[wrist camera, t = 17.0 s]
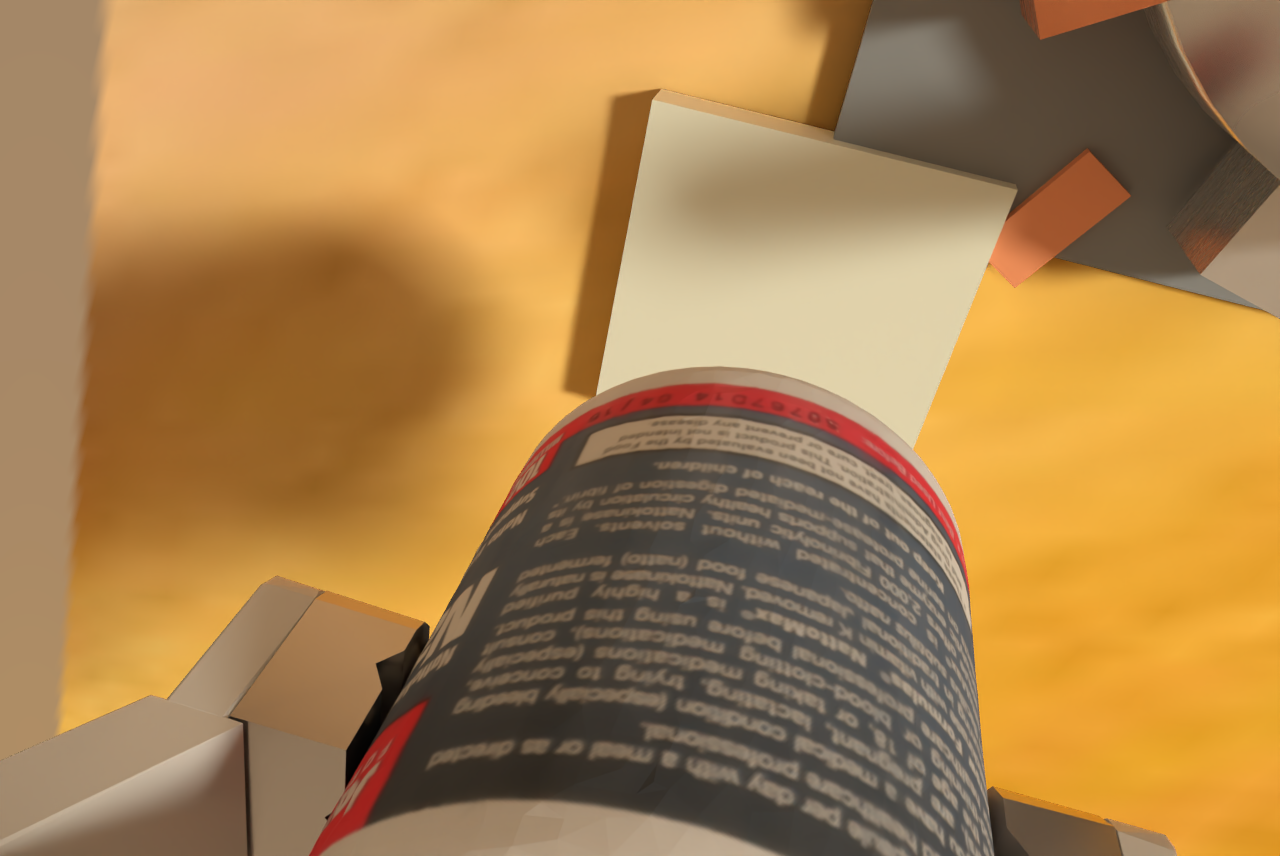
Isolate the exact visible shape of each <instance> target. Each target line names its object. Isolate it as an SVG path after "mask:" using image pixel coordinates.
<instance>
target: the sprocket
mask: <svg viewBox="0 0 1280 856" xmlns="http://www.w3.org/2000/svg"><path fill="white" fill-rule="evenodd" d="M1019 1H1020V7H1021V13H1022V16H1023V17H1024V19H1025V20H1026V21H1027V23H1028V24H1029V26H1030V27H1031V28H1032V30H1033V31H1034V32H1035V34H1036V35H1037V36H1038V38H1039V39H1040V40H1041V39H1045V38H1048V37H1051V36H1055V35H1058V34H1061V33H1064V32H1068V31H1071V30H1074V29H1078V28H1081V27H1084V26H1088V25H1091V24H1094V23H1097V22H1101V21H1104V20H1107V19H1111V18H1114V17H1117V16H1121V15H1124V14H1127V13H1130V12H1134V11H1137V10H1140V9H1143V10H1144V13H1145V16H1146V19H1147V21H1148V24H1149V26H1150V28H1151V30H1152V32H1153V34H1154V36H1155V37H1156V39H1157V41H1158V43H1159V45H1160V47H1161V49H1162V51H1163V52H1164V54H1165V56H1166V58H1167V60H1168V62H1169V64H1170V65H1171V67H1172V69H1173V71H1174V72H1175V74H1176V75H1177V76H1178V78H1179V79H1180V80H1181V82H1182V83H1183V84H1184V85H1185V87H1186V88H1187V89H1188V91H1189V92H1190V93H1191V95H1192V96H1193V97H1194V98H1195V100H1196V101H1197V102H1198V104H1199V105H1200V106H1201V108H1202V109H1203V110H1204V111H1205V113H1206V114H1208V115H1209V116H1210V117H1211V118H1212V119H1213V120H1214V121H1215V122H1216V123H1217V124H1218V125H1219V126H1220V127H1221V128H1223V129H1224V130H1225V131H1226V132H1227V133H1228V134H1229V135H1230V136H1231V137H1232V138H1233V139H1234V140H1235V141H1236V143H1235V144H1234V145H1233V146H1232V148H1231V149H1230V150H1229V151H1228V152H1227V154H1226V155H1225V156H1224V157H1223V158H1222V160H1221V161H1220V162H1219V163H1218V164H1217V166H1216V167H1215V168H1214V169H1213V170H1212V172H1211V173H1210V174H1209V175H1208V176H1207V178H1206V179H1205V180H1204V181H1203V182H1202V184H1201V185H1200V186H1199V187H1198V188H1197V190H1196V191H1195V192H1194V193H1193V194H1192V196H1191V197H1190V198H1189V199H1188V200H1187V202H1186V203H1185V204H1184V205H1183V206H1182V208H1181V209H1180V210H1179V211H1178V212H1177V214H1176V215H1175V216H1174V217H1173V218H1172V220H1171V221H1170V222H1169V223H1168V224H1167V226H1166V227H1167V228H1168V230H1169V231H1170V233H1171V234H1172V235H1173V237H1174V238H1175V240H1176V241H1177V243H1178V244H1179V245H1180V247H1181V248H1182V250H1183V251H1184V252H1185V254H1186V255H1187V257H1188V258H1189V260H1190V261H1191V262H1192V264H1193V265H1194V267H1195V268H1196V269H1197V271H1198V272H1199V274H1200V275H1202V276H1204V277H1205V278H1207V279H1209V280H1211V281H1213V282H1214V283H1216V284H1218V285H1220V286H1222V287H1223V288H1225V289H1227V290H1229V291H1231V292H1232V293H1234V294H1236V295H1238V296H1240V297H1241V298H1243V299H1245V300H1247V301H1249V302H1250V303H1252V304H1254V305H1256V306H1258V307H1259V308H1261V309H1263V310H1265V311H1267V312H1268V313H1270V314H1272V315H1274V316H1276V317H1277V318H1279V319H1280V0H1019Z"/></svg>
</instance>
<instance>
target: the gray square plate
mask: <svg viewBox="0 0 1280 856" xmlns="http://www.w3.org/2000/svg"><path fill="white" fill-rule="evenodd" d="M833 139H834V140H838V141H842V142H846V143H850V144H854V145H859V146H863V147H867V148H871V149H875V150H879V151H883V152H887V153H891V154H895V155H899V156H903V157H907V158H911V159H915V160H919V161H923V162H927V163H931V164H935V165H939V166H943V167H947V168H952V169H956V170H960V171H964V172H968V173H972V174H976V175H980V176H984V177H988V178H992V179H996V180H1000V181H1004V182H1008V183H1012V184H1016V187H1017V189H1018V191H1017V193H1016V196H1015V198H1014V201H1013V203H1012V205H1011V208H1010V210H1009V213H1008V215H1007V218H1006V220H1005V223H1004V225H1003V228H1002V230H1001V233H1000V235H999V238H998V240H997V243H996V245H995V248H994V250H993V252H992V255H991V257H990V260H989V263H990V264H991V265H992V266H993V267H994V268H995V269H996V270H997V271H998V272H999V273H1000V274H1001V275H1002V276H1003V277H1004V278H1005V279H1006V280H1007V281H1008V282H1009V283H1010V284H1011V285H1012V286H1013V287H1014V288H1015V287H1017V286H1018V285H1019V284H1020V283H1022V282H1023V281H1024V280H1025V279H1027V278H1028V277H1029V276H1031V275H1032V274H1033V273H1034V272H1036V271H1037V270H1038V269H1039V268H1041V267H1042V266H1043V265H1044V264H1046V263H1047V262H1048V261H1050V260H1051V259H1052V258H1053V257H1055V258H1059V259H1063V260H1067V261H1071V262H1075V263H1079V264H1083V265H1087V266H1091V267H1095V268H1098V269H1102V270H1106V271H1110V272H1114V273H1118V274H1122V275H1126V276H1130V277H1134V278H1138V279H1142V280H1146V281H1150V282H1154V283H1158V284H1162V285H1166V286H1170V287H1174V288H1178V289H1182V290H1186V291H1190V292H1194V293H1198V294H1202V295H1206V296H1210V297H1214V298H1218V299H1222V300H1226V301H1229V302H1233V303H1237V304H1241V305H1245V306H1249V307H1253V308H1257V309H1261V308H1259V307H1258V306H1256V305H1254V304H1252V303H1250V302H1249V301H1247V300H1245V299H1243V298H1241V297H1240V296H1238V295H1236V294H1234V293H1232V292H1231V291H1229V290H1227V289H1225V288H1223V287H1222V286H1220V285H1218V284H1216V283H1214V282H1213V281H1211V280H1209V279H1207V278H1205V277H1204V276H1202V275H1200V274H1199V272H1198V271H1197V269H1196V268H1195V267H1194V265H1193V264H1192V262H1191V261H1190V260H1189V258H1188V257H1187V255H1186V254H1185V252H1184V251H1183V250H1182V248H1181V247H1180V245H1179V244H1178V243H1177V241H1176V240H1175V238H1174V237H1173V235H1172V234H1171V233H1170V231H1169V230H1168V228H1167V227H1166V226H1167V224H1168V223H1169V222H1170V221H1171V220H1172V218H1173V217H1174V216H1175V215H1176V214H1177V212H1178V211H1179V210H1180V209H1181V208H1182V206H1183V205H1184V204H1185V203H1186V202H1187V200H1188V199H1189V198H1190V197H1191V196H1192V194H1193V193H1194V192H1195V191H1196V190H1197V188H1198V187H1199V186H1200V185H1201V184H1202V182H1203V181H1204V180H1205V179H1206V178H1207V176H1208V175H1209V174H1210V173H1211V172H1212V170H1213V169H1214V168H1215V167H1216V166H1217V164H1218V163H1219V162H1220V161H1221V160H1222V158H1223V157H1224V156H1225V155H1226V154H1227V152H1228V151H1229V150H1230V149H1231V148H1232V146H1233V145H1234V144H1235V143H1236V141H1235V140H1234V139H1233V138H1232V137H1231V136H1230V135H1229V134H1228V133H1227V132H1226V131H1225V130H1224V129H1223V128H1221V127H1220V126H1219V125H1218V124H1217V123H1216V122H1215V121H1214V120H1213V119H1212V118H1211V117H1210V116H1209V115H1208V114H1206V113H1205V111H1204V110H1203V109H1202V108H1201V106H1200V105H1199V104H1198V102H1197V101H1196V100H1195V98H1194V97H1193V96H1192V95H1191V93H1190V92H1189V91H1188V89H1187V88H1186V87H1185V85H1184V84H1183V83H1182V82H1181V80H1180V79H1179V78H1178V76H1177V75H1176V74H1175V72H1174V71H1173V69H1172V67H1171V65H1170V64H1169V62H1168V60H1167V58H1166V56H1165V54H1164V52H1163V51H1162V49H1161V47H1160V45H1159V43H1158V41H1157V39H1156V37H1155V36H1154V34H1153V32H1152V30H1151V28H1150V26H1149V24H1148V21H1147V19H1146V16H1145V13H1144V10H1143V9H1140V10H1137V11H1134V12H1130V13H1127V14H1124V15H1121V16H1117V17H1114V18H1111V19H1107V20H1104V21H1101V22H1097V23H1094V24H1091V25H1088V26H1084V27H1081V28H1078V29H1074V30H1071V31H1068V32H1064V33H1061V34H1058V35H1055V36H1051V37H1048V38H1045V39H1041V40H1040V39H1039V38H1038V36H1037V35H1036V34H1035V32H1034V31H1033V30H1032V28H1031V27H1030V26H1029V24H1028V23H1027V21H1026V20H1025V19H1024V17H1023V16H1022V13H1021V7H1020V1H1019V0H873V1H872V5H871V8H870V12H869V15H868V19H867V22H866V25H865V29H864V32H863V36H862V39H861V43H860V46H859V49H858V53H857V56H856V60H855V63H854V67H853V70H852V73H851V77H850V80H849V84H848V87H847V90H846V94H845V97H844V101H843V104H842V108H841V111H840V114H839V118H838V121H837V125H836V128H835V132H834V138H833ZM1261 310H1263V309H1261Z"/></svg>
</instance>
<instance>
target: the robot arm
mask: <svg viewBox="0 0 1280 856" xmlns="http://www.w3.org/2000/svg"><path fill="white" fill-rule="evenodd" d="M429 628H430V626H429V625H427V624H426V623H425V622H423V621H420V620H417V619H414V618H411V617H408V616H404V615H401V614H398V613H395V612H392V611H389V610H386V609H382V608H379V607H376V606H373V605H370V604H367V603H364V602H361V601H357V600H354V599H351V598H348V597H345V596H342V595H339V594H335V593H332V592H329V591H323V590H320V589H317V588H314V587H310V586H307V585H304V584H301V583H298V582H295V581H291V580H288V579H285V578H282V577H279V576H275V577H274V578H272V579H270V580H269V581H267V582H265V583H264V584H262V585H260V587H259V588H258V589H257V590H256V591H255V593H254V594H253V595H252V596H251V597H250V599H249V600H248V601H247V602H246V604H245V605H244V606H243V607H242V608H241V610H240V611H239V612H238V613H237V614H236V616H235V617H234V618H233V619H232V621H231V622H230V623H229V624H228V625H227V627H226V628H225V629H224V630H223V631H222V633H221V634H220V635H219V636H218V638H217V639H216V640H215V641H214V642H213V644H212V645H211V646H210V647H209V649H208V650H207V651H206V652H205V653H204V655H203V656H202V657H201V658H200V659H199V661H198V662H197V663H196V664H195V666H194V667H193V668H192V669H191V670H190V672H189V673H188V674H187V675H186V676H185V678H184V679H183V680H182V681H181V683H180V684H179V685H178V686H177V687H176V689H175V690H174V691H173V692H172V693H171V695H170V696H169V697H168V698H167V699H164V698H160V697H156V696H153V695H150V696H147V697H145V698H143V699H141V700H138V701H136V702H134V703H131V704H129V705H127V706H124V707H122V708H120V709H118V710H115V711H113V712H111V713H108V714H106V715H104V716H101V717H99V718H97V719H95V720H92V721H90V722H88V723H85V724H83V725H81V726H79V727H76V728H74V729H72V730H69V731H67V732H65V733H62V734H60V735H58V736H56V737H53V738H51V739H49V740H47V741H44V742H42V743H40V744H37V745H35V746H33V747H30V748H28V749H26V750H24V751H21V752H19V753H17V754H14V755H12V756H10V757H7V758H5V759H3V760H0V856H309V854H310V853H311V851H312V849H313V847H314V845H315V843H316V841H317V839H318V838H319V835H320V833H321V831H322V829H323V827H324V825H325V824H326V822H327V820H328V818H329V817H330V815H331V813H332V811H333V809H334V808H335V806H336V804H337V803H338V801H339V799H340V797H341V796H342V794H343V792H344V791H345V789H346V787H347V785H348V784H349V782H350V780H351V778H352V777H353V775H354V773H355V771H356V770H357V768H358V766H359V764H360V763H361V761H362V759H363V757H364V755H365V754H366V752H367V750H368V748H369V747H370V745H371V743H372V741H373V739H374V738H375V736H376V734H377V733H378V731H379V729H380V727H381V726H382V724H383V722H384V720H385V719H386V717H387V715H388V713H389V711H390V710H391V708H392V706H393V704H394V702H395V701H396V699H397V697H398V696H399V694H400V692H401V691H402V689H403V687H404V685H405V683H406V681H407V679H408V677H409V675H410V673H411V671H412V669H413V667H414V665H415V663H416V661H417V660H418V658H419V656H420V654H421V653H422V651H423V649H424V647H425V646H426V644H427V642H428V640H429ZM987 798H988V806H989V814H990V823H991V831H992V839H993V848H994V856H1177V854H1176V850H1175V847H1174V846H1173V844H1172V843H1171V842H1170V841H1169V839H1168V838H1167V837H1166V835H1164V834H1160V833H1157V832H1153V831H1150V830H1146V829H1142V828H1139V827H1135V826H1132V825H1128V824H1125V823H1121V822H1118V821H1114V820H1111V819H1103V818H1101V817H1100V816H1097V815H1094V814H1090V813H1087V812H1083V811H1079V810H1076V809H1072V808H1069V807H1065V806H1062V805H1058V804H1054V803H1051V802H1047V801H1044V800H1040V799H1037V798H1033V797H1029V796H1026V795H1022V794H1019V793H1015V792H1012V791H1008V790H1004V789H1001V788H997V787H994V786H992V787H991V788H990V789H988V790H987Z"/></svg>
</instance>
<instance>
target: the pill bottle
mask: <svg viewBox="0 0 1280 856" xmlns="http://www.w3.org/2000/svg"><path fill="white" fill-rule="evenodd" d="M309 856H994V848H993V839H992V831H991V823H990V814H989V806H988V798H987V789H986V780H985V770H984V761H983V751H982V741H981V729H980V717H979V705H978V694H977V684H976V674H975V661H974V648H973V635H972V624H971V611H970V595H969V584H968V577H967V570H966V565H965V560H964V553H963V547H962V542H961V537H960V532H959V529H958V526H957V523H956V520H955V517H954V514H953V512H952V509H951V506H950V504H949V502H948V500H947V498H946V496H945V494H944V493H943V491H942V489H941V487H940V486H939V484H938V482H937V480H936V479H935V477H934V476H933V474H932V473H931V472H930V470H929V469H928V467H927V466H926V465H925V463H924V462H923V461H922V459H921V458H920V457H919V456H918V455H917V454H916V453H915V452H914V450H913V449H912V448H911V447H910V446H909V445H908V444H907V443H906V442H905V441H904V440H903V439H902V438H901V437H899V436H898V435H897V434H896V433H895V432H894V431H892V430H891V429H890V428H889V427H888V426H886V425H885V424H884V423H883V422H881V421H880V420H879V419H877V418H876V417H875V416H873V415H872V414H870V413H868V412H867V411H865V410H864V409H862V408H860V407H859V406H857V405H855V404H854V403H852V402H850V401H849V400H847V399H845V398H843V397H841V396H839V395H836V394H834V393H832V392H830V391H828V390H826V389H823V388H821V387H818V386H815V385H813V384H810V383H808V382H805V381H802V380H798V379H795V378H792V377H788V376H785V375H781V374H776V373H772V372H767V371H761V370H755V369H749V368H737V367H723V366H713V367H691V368H683V369H675V370H668V371H662V372H658V373H654V374H650V375H647V376H643V377H639V378H635V379H632V380H630V381H627V382H625V383H622V384H620V385H617V386H615V387H612V388H610V389H608V390H606V391H604V392H602V393H600V394H598V395H596V396H595V397H593V398H591V399H589V400H588V401H586V402H585V403H583V404H581V405H580V406H579V407H577V408H576V409H575V410H573V411H572V412H571V413H569V414H568V415H567V416H565V417H564V418H563V419H562V420H561V421H560V422H559V423H558V424H557V425H556V426H555V427H554V428H553V429H552V430H551V431H550V432H549V433H548V434H547V435H546V436H545V437H544V438H543V440H542V441H541V442H540V444H539V445H538V446H537V447H536V449H535V450H534V452H533V453H532V455H531V457H530V458H529V460H528V461H527V463H526V465H525V466H524V468H523V470H522V471H521V473H520V474H519V476H518V477H517V479H516V480H515V482H514V484H513V486H512V488H511V490H510V492H509V494H508V496H507V498H506V499H505V501H504V503H503V505H502V507H501V509H500V510H499V512H498V514H497V516H496V518H495V520H494V521H493V523H492V525H491V527H490V529H489V531H488V532H487V534H486V536H485V538H484V540H483V542H482V543H481V545H480V547H479V548H478V550H477V552H476V554H475V556H474V558H473V560H472V562H471V564H470V565H469V567H468V569H467V570H466V572H465V574H464V576H463V579H462V581H461V583H460V585H459V587H458V588H457V590H456V592H455V593H454V595H453V597H452V599H451V601H450V602H449V604H448V606H447V608H446V610H445V612H444V613H443V615H442V617H441V619H440V621H439V622H438V624H437V626H436V628H435V630H434V632H433V633H432V635H431V637H430V639H429V640H428V642H427V644H426V646H425V647H424V649H423V651H422V653H421V654H420V656H419V658H418V660H417V661H416V663H415V665H414V667H413V669H412V671H411V673H410V675H409V677H408V679H407V681H406V683H405V685H404V687H403V689H402V691H401V692H400V694H399V696H398V697H397V699H396V701H395V702H394V704H393V706H392V708H391V710H390V711H389V713H388V715H387V717H386V719H385V720H384V722H383V724H382V726H381V727H380V729H379V731H378V733H377V734H376V736H375V738H374V739H373V741H372V743H371V745H370V747H369V748H368V750H367V752H366V754H365V755H364V757H363V759H362V761H361V763H360V764H359V766H358V768H357V770H356V771H355V773H354V775H353V777H352V778H351V780H350V782H349V784H348V785H347V787H346V789H345V791H344V792H343V794H342V796H341V797H340V799H339V801H338V803H337V804H336V806H335V808H334V809H333V811H332V813H331V815H330V817H329V818H328V820H327V822H326V824H325V825H324V827H323V829H322V831H321V833H320V835H319V838H318V839H317V841H316V843H315V845H314V847H313V849H312V851H311V853H310V854H309Z"/></svg>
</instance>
